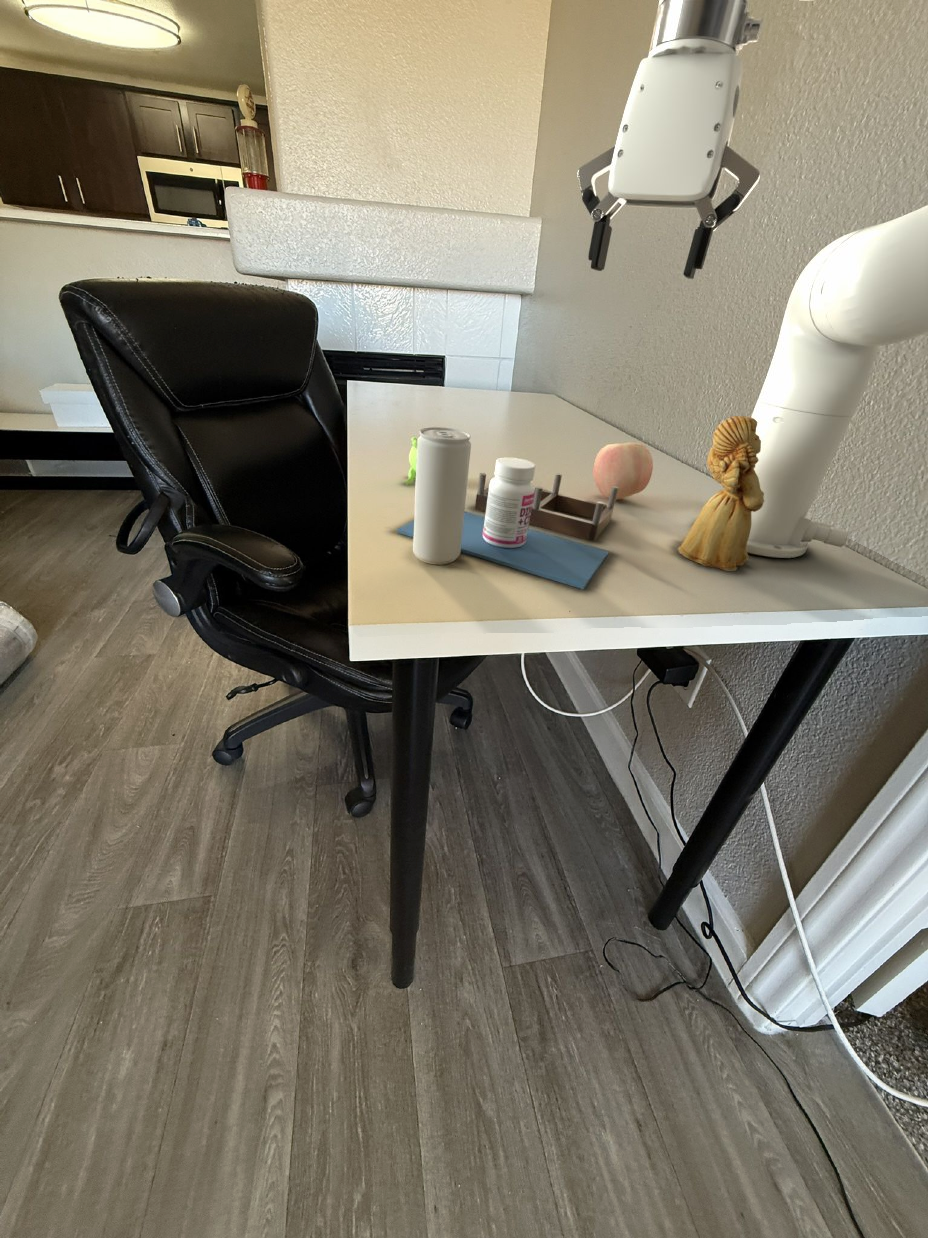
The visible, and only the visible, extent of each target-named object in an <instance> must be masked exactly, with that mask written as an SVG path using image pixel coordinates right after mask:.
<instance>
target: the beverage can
mask: <svg viewBox="0 0 928 1238" xmlns="http://www.w3.org/2000/svg"><path fill="white" fill-rule="evenodd" d="M419 435H420V436H418V438H417V440H418V441H417V462H416V479H415V486H414V487H415V488H414V510H413V511H414V513H413V515H414V517H413V521H414V537H412V553H413V554H414V556H415V557H416V559H418V560H419V561H421V562H423V563H426V564H429V565H440V566H441V565H448V564H451V563H454V562H455V561H456V560H457V559H458V558H459V557H460V555H461V552H460V551H461V541H462V531H463V521H464V511H465V512H466V501H467V490H468V480H469V469H470V462H471V461H470V460H471V449H472V442H471V441H470V439H471V435H470V433H469V432H466V431H465V430H464V431H463V430H460V429H456V428H452V427H451V428H450V427H443V426H442V427H440V426H433V427H431V426H430V427H424V428H420V430H419Z"/></svg>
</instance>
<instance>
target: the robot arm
mask: <svg viewBox="0 0 928 1238" xmlns="http://www.w3.org/2000/svg"><path fill="white" fill-rule="evenodd" d="M800 1H802V2H803V1H806V2H807V1H808V2H810V1H813V0H800ZM751 2H752V1H751V0H659V2H658V7H657V12H656V16H655V21H654V27H653V32H652V35H651V36H652V37H651V41H650V47H649V51H648V56H647V57H644V58H642V60H641V61H640V63H639V66H638V68H637V71H636V74H635V77H634V80H633V81H632V86H631V88H630V92H629V95H628V97H627V98H628V99H627V102H626V104H625V109H624V111H623V115H622V119H621V123H620V126H619V130H618V135H617V138H616V143H615V145H614V146H613V147H611V148H609V149H608V150H606V151H605V152H603V153H601V154H599V155H598V156H596V157H595V158H593V159H591V160H590V161H588V162H587V163H584V164H583V165H582V166H580V167H579V168H578V170H577V173H576V174H577V180H578V184H579V185H578V186H579V190H580V193H581V200H582V203H583V204H584V206H585V208H586V209H587V211H588V213H589V215H590V216H591V220H592V221H593V222H594V224H593V227H592V233H591V239H590V244H589V249H588V256H587V258H588V261H591V263H590V269H591V270H594V271H597V272H602V271H604V270H605V266H606V262H607V256H608V252H609V246H610V243H611V242H610V241H611V236H612V232H613V228H612V226H611V225H610V223H611V220H612V219H613V217H614V216H615V215H616V214H617V213H618V212H619V211H620V209H621V208H622V207H623V206H624V205H626V206H629V207H640V208H662V209H663V208H664V209H696V210H697V212H698V215H699V217H700V219H701V220H700V222H699V226H697V228H695V229H694V233H693V236H692V240H691V242H690V243H691V244H690V248H689V252H688V255H687V258H686V263H685V266H684V269H683V274H682V275H683V276H684V277H685V278H686V279H690V280H694V278H695V275H696V271H697V270H702V269H703V267H704V265H705V261H706V258H707V255H708V250H709V247H710V243H711V240H712V237H713V233H714V232H715V231H716V230H717V229H718V228H719V226H721V225H722V224H723V223H725V221H727V220H728V219H730V217H731V216H733V215H734V214H735V213H736V212H737V211H738V210H739V209H740V207H741V206H742V204H743V203H744V201H745V200H746V199H747V198H748V197H749V195H750V194H751V192H753V190H754V188H755V187H756V186H757V184H758V183H759V181H760V178H761V173H760V170H759V169H758V168H757V167H755V166H754V165H753V164H751V163H750V162H749V161H747V160H746V159H745V158H744V157H742V156H741V155H740V154H738V153H737V152H736V151H735V150H733V149H732V148H731V147H730V146H729V145H730V141H731V138H732V133H733V127H734V123H735V119H736V114H737V109H738V104H739V98H740V92H741V91H740V90H741V85H742V78H743V63H742V60H741V58H740V57H739V52H740V51H742V50H743V47H744V46H747V45H748V44H749V43H757V42H758V41H759V38H760V35H761V32H762V27H763V22H764V18H755V16H751V12H750V11H749V8H750V4H751ZM608 171H609V176H608V184H607V187H608V189H607V190H608V192H607V193H606V194H605V196H603V198H602V199H601V200H600V198H599V196H598V195H597V191H596V185H595V182H596V179H597V178H598V177H600V176H602V175H603V174H605V173H607V172H608ZM723 171H726V172H727V173H728V174H730V175H731V176H732V177H733V178H735V179H736V180H737V181H738V183H737V185H736V186H735V188H734V190H733V191H732V192H731V194H730V195H728V197H727V198H725V199H724V200H723V201H722V202H720V204H718V206H716V207H714V205H713V203H712V202H713V200H714V199H715V197H716V194H717V192H718V189H719V185H720V182H721V179H722V175H723ZM925 334H928V204H927V205H924V206H922V207H920V208H917V209H916V210H913V211H911V212H909V213H906V214H904V215H902V216H899V217H896V218H894V219H891V220H889V221H885V222H882V223H878V224H877V223H876V224H873V225H870V226H867V227H863V228H861V229H858V230H854V231H851V232H850V233H848V234H845V235H842V236H841V237H838V238H837V239H835V240H834V241H832V242H830V243H829V244H828V245H826V246H825V247H823V248H822V249H821V250H820V251H819V252H818V253H816V255H814V256H813V258H812V259H811V260H810V261H809V262H808V263H807V265H806V266H805V267H804V269H803V270H802V271H801V273H800V275H799V277H798V279H796V282H795V283H794V286H793V288H792V291H791V293H790V295H789V298H788V302H787V304H786V308H785V312H784V315H783V320H782V323H781V327H780V332H779V334H778V335H779V336H778V340H777V344H776V347H775V351H774V354H773V357H772V359H771V363H770V365H769V369H768V372H767V375H766V378H765V380H764V383H763V385H762V388H761V390H760V393H759V397H758V399H757V401H756V403H755V406H754V410H753V412H752V414H751V417H750V418H754V419H755V420H756V421H757V427H756V435H758V436H759V439H760V440H761V452H760V453H758V454H756V457H758V460H759V461H758V462H757V463H756V464H755V468H754V470H755V473H756V474H757V476H758V479H759V483H760V489H761V491H762V492H764V496H763V497H764V503H763V505H762V508H761V509H759V510H758V511H756V512H753V511H752V512H751V530H750V535H749V538H748V541H747V545H746V551H747V554H751V555H756V556H762V557H766V558H767V557H768V558H777V559H792V558H797V557H800V556H803V555H804V554H805V553H806V551H807V549H808V547H809V543H811V542H812V540H813V541H818V542H822V543H824V544H825V545H831V546H835V547H839V548H842V547H843V546H844V545H845V543H846V541H847V539H848V536H849V530H846V529H841V528H837V527H834V524H832V523H828V522H824V521H817V520H813V517H812V515H811V510H810V508H811V506H812V504H813V502H814V500H815V498H816V496H817V494H818V491H819V489H820V487H821V486H822V483H823V480H824V479H825V476H826V474H827V472H828V470H829V467H830V466H831V464H832V462H833V460H834V457H835V455H836V453H837V452H838V449H839V447H840V444H841V442H842V440H843V438H844V435H845V433H846V431H847V429H848V427H849V425H850V423H851V422H852V418H853V417H854V415H855V414H856V411H857V410H858V407H859V405H860V403H861V401H862V398H863V396H864V393H865V391H866V389H867V386H868V383H869V380H870V378H871V375H872V371H873V369H874V365H875V361H876V356H877V353H878V349H879V346H889V345H893V344H898V343H901V342H904V341H908V340H911V339H914V338H917V337H920V336H923V335H925Z"/></svg>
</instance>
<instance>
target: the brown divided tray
mask: <svg viewBox="0 0 928 1238" xmlns="http://www.w3.org/2000/svg"><path fill="white" fill-rule="evenodd" d="M562 476H563V474H562V473H560V472H556V473H555V476H554V481H553V486H552V490H547V489H544V488H543V487H542V486H536V487H535V493H534V499H533V504H532V510H531V515H530V521H529V525H531V526H534V527H538V528H542V529H546V530H549V531H554V532H557V533H560V534H564V535H568V536H571V537H576V538H580V539H583V540H586V541H589V542H595V541H596V540H597V538H598V537H599V536H600V535H601V533H602V532H603V531H604V530H605V528H606V527H607V526H608V525H609V524H610V522H611V521H612V517H613V514H614V510H615V504H616V501H617V500H616V497H617V493H618V489H619V488H618V487H616V486H613V487H612V489H611V493H610V497H609V499H608V502H607V504H605V502H603V501H600V500H598V501H592V500H588V499H584V498H580V497H576V496H571V495H568V494H565V493H564V494H563V493H560V487H561V482H562V478H563V477H562ZM486 479H487V473H486V472H480V473H479V477H478V485H477V493H476V495H475V503H474V510H476V511H479V512H483V513H486V507H487V499H488V491H489V486H488V487H487V488H486ZM554 510H556V511H560V512H556V511H554ZM561 512H564V513H567V514H564V513H561ZM568 514H571V515H576V517H575V516H571V515H568ZM577 516H578V517H577ZM579 516H580V517H583V518H587V519H583V518H580V517H579ZM588 519H590V520H588ZM591 520H592V521H591Z"/></svg>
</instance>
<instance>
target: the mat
mask: <svg viewBox="0 0 928 1238" xmlns="http://www.w3.org/2000/svg"><path fill="white" fill-rule="evenodd" d="M484 522H485V516H483V515H479V514H475V513H473V512H468V511H466V510H465V511H464V521H463V531H462V541H461V551H460V553H463V554H465V555H469V556H472V557H476V558H480V559H482V560H485V561H489V562H492V563H496V564H499V565H502V566H505V567H508V568H512V569H515V570H519V571H522V572H525V573H529V574H531V575H535V576H538V577H540V578H541V577H542V578H544V579H548V580H551V581H555V582H557V583H561V584H563V585H568V586H571V587H574V588H577V589H580V590H584V589H585V588H586V586H587V585H588V584H589V582H590V581H591V580H592V578H593V577H594V576H595V574H596V572H597V571H598V570H599V568H600V567H601V566H602V564H603V563H604V562H605V560H606V559H607V557H608V556H609V555H610V551H609V550H607V549H602V548H599V547H595V546H592V545H588V544H585V543H581V542H577V541H574V540H570V539H566V538H563V537H559V536H556V535H552V534H548V533H545V532H542V531H538V530H533V529H530V528H528V531H527V537H526V541H525V543H524V544H523V545H522V546H520V547H517V548H503V547H498V546H494V545H492V544H489V543H488V542H486V541H485V540H484V538H483V528H484ZM397 534H401V535H404V536H407V537H410V538H414V520H413V521H410V522H408V523H407V524H405V525H403V526H401V527H399V528H397Z"/></svg>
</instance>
